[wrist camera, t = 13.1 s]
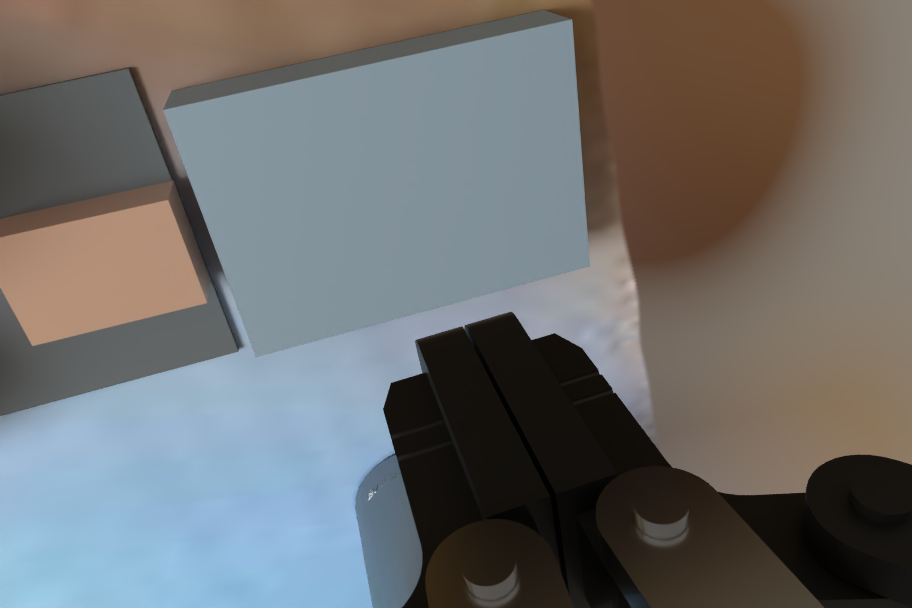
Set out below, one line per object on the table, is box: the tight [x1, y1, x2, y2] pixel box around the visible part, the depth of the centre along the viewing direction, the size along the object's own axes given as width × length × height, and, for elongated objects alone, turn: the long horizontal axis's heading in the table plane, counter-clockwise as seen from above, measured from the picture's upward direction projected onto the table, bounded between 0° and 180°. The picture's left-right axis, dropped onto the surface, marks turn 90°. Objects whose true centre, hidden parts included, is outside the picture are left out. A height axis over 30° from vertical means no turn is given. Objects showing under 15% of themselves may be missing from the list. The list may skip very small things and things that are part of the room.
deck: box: [163, 10, 590, 357], centre depth 39 cm, size 20×14×4 cm
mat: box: [0, 68, 238, 416], centre depth 38 cm, size 14×17×1 cm
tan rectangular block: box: [0, 180, 210, 346], centre depth 37 cm, size 9×6×3 cm, turn 99°
